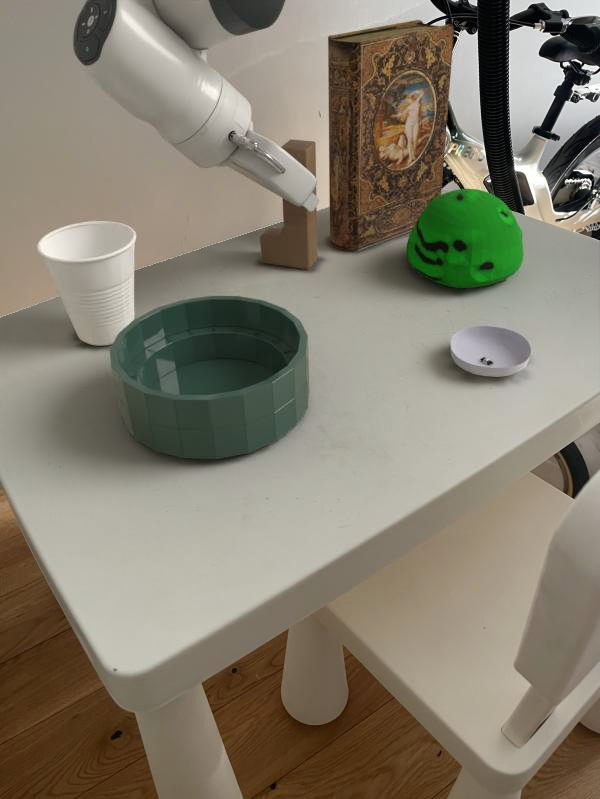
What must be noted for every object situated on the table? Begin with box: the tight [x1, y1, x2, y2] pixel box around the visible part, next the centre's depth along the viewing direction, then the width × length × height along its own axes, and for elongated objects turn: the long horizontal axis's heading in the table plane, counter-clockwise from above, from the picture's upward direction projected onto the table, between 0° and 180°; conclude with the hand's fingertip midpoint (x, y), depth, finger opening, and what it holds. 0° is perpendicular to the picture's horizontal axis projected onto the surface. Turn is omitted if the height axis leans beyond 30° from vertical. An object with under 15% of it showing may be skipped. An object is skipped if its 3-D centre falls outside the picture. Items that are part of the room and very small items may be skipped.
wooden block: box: [259, 139, 318, 270], centre depth 90 cm, size 7×3×15 cm, turn 69°
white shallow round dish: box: [449, 325, 532, 378], centre depth 73 cm, size 8×8×2 cm
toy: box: [405, 188, 524, 289], centre depth 88 cm, size 14×13×10 cm
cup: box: [36, 220, 137, 347], centre depth 78 cm, size 10×10×11 cm
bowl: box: [109, 295, 310, 460], centre depth 67 cm, size 17×17×7 cm
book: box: [327, 19, 455, 253], centre depth 94 cm, size 16×6×25 cm, turn 128°
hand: (291, 192), depth 89 cm, fingers open, 8 cm apart
